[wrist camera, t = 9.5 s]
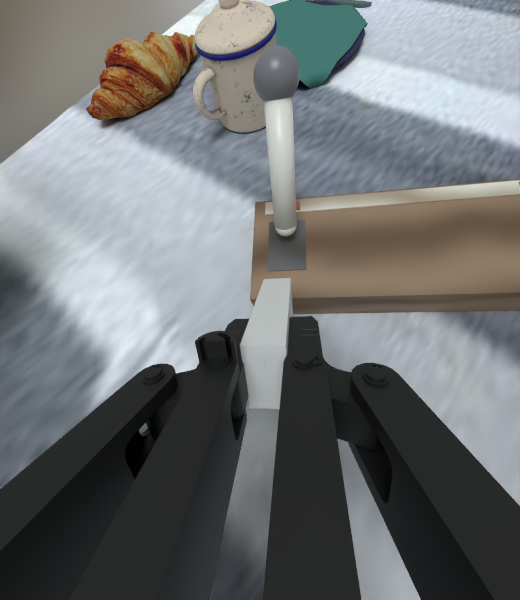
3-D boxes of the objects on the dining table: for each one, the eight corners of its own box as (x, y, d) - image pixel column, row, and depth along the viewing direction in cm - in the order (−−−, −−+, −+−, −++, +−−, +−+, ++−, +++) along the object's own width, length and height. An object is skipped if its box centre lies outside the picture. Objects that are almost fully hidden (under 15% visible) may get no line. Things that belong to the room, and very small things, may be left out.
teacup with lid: (249, 83, 38) (228, -40, 28) (297, 103, 35) (293, -28, 24) (190, 133, 36) (143, 21, 26) (235, 159, 33) (201, 44, 22)
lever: (303, 241, 21) (299, 36, 14) (268, 243, 21) (246, 46, 14) (302, 227, 23) (298, 44, 16) (271, 229, 23) (253, 52, 16)
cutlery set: (207, 79, 41) (201, 61, 39) (301, -19, 48) (301, -39, 46) (322, 108, 35) (324, 88, 32) (410, -10, 42) (416, -33, 40)
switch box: (578, 309, 21) (640, 288, 17) (258, 314, 25) (249, 298, 21) (535, 208, 24) (578, 172, 21) (261, 227, 29) (255, 200, 25)
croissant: (196, 72, 48) (166, 16, 43) (222, 53, 40) (188, -19, 35) (106, 142, 44) (61, 89, 39) (116, 134, 36) (62, 67, 31)
